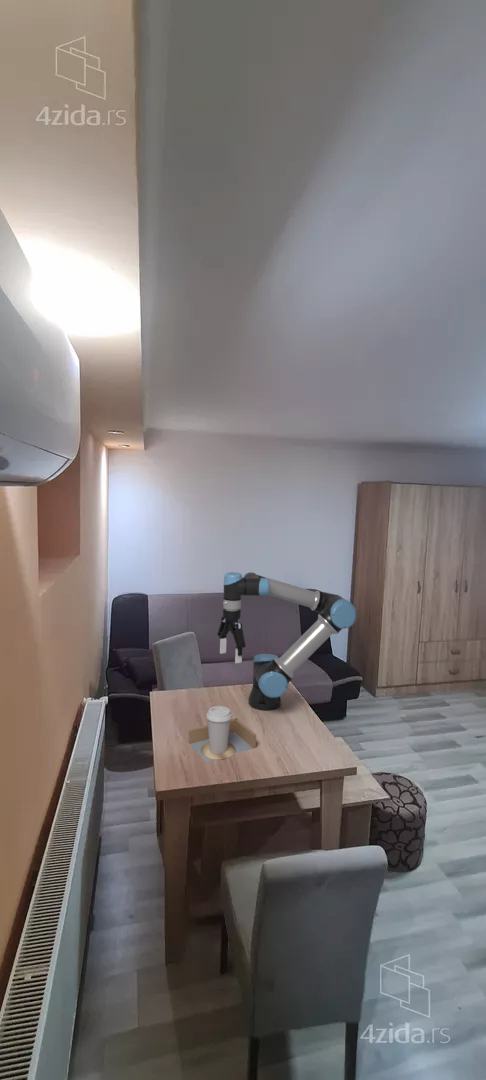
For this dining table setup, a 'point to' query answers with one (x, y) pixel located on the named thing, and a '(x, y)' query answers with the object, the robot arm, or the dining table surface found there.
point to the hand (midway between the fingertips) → (230, 657)
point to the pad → (210, 755)
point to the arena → (237, 737)
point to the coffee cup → (218, 728)
